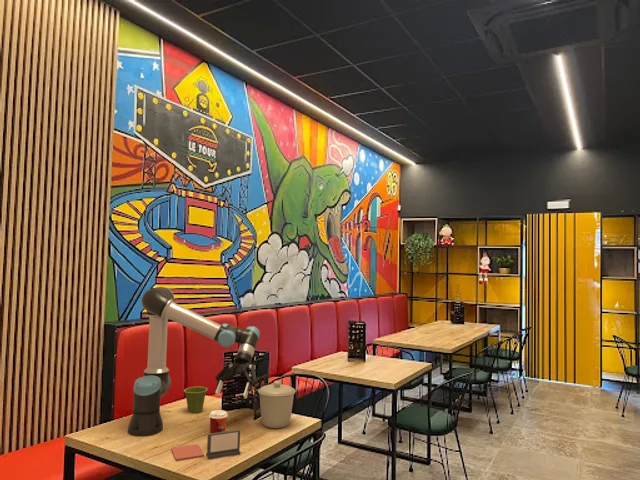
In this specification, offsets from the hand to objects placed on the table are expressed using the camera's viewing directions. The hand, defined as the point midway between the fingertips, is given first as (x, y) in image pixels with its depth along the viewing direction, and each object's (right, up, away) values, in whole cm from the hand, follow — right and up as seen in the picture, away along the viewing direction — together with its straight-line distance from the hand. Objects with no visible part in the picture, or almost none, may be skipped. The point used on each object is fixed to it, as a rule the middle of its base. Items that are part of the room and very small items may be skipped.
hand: (230, 395), depth 210 cm
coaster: (-14, -17, -20) cm, 29 cm away
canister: (+19, -20, +16) cm, 32 cm away
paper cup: (-4, -18, -11) cm, 21 cm away
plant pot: (-25, -19, +33) cm, 45 cm away
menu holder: (+1, -17, -20) cm, 27 cm away
